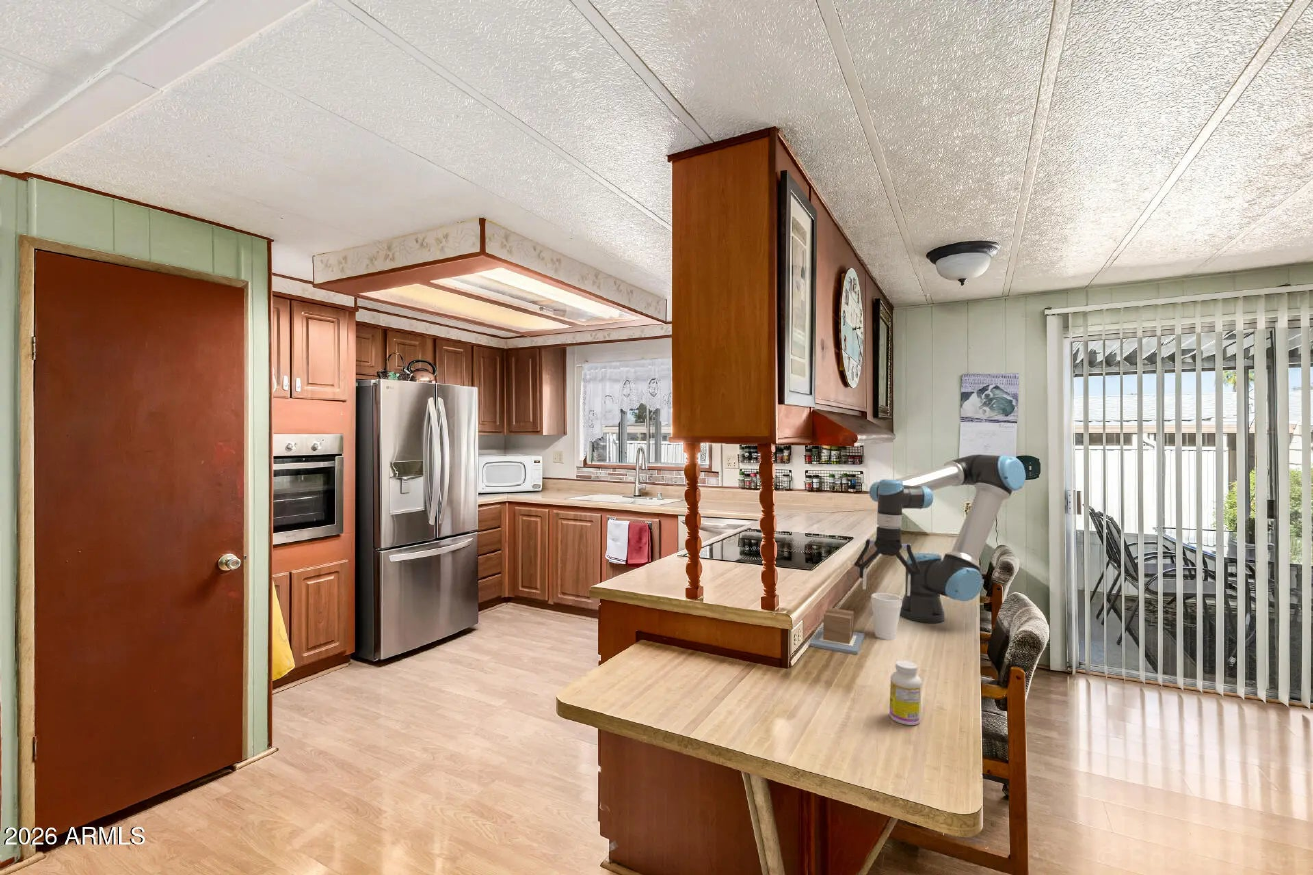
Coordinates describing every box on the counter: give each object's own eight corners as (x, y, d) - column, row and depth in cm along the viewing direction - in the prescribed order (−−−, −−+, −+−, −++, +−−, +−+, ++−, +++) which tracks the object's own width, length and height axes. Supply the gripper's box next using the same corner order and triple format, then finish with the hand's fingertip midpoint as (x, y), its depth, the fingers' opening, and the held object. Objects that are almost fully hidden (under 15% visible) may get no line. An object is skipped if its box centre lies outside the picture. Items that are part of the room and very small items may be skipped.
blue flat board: (820, 629, 200) (820, 625, 200) (864, 636, 194) (864, 633, 194) (810, 646, 184) (810, 642, 184) (857, 654, 178) (857, 650, 178)
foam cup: (863, 633, 197) (865, 594, 197) (884, 630, 201) (886, 591, 201) (885, 642, 189) (887, 602, 188) (907, 639, 193) (908, 599, 192)
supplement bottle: (894, 709, 143) (896, 656, 142) (923, 718, 138) (925, 663, 138) (885, 719, 137) (887, 664, 137) (915, 729, 133) (917, 672, 133)
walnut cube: (827, 631, 194) (828, 607, 194) (852, 636, 191) (853, 611, 191) (822, 639, 187) (823, 614, 187) (849, 644, 183) (850, 618, 183)
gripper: (847, 524, 197) (844, 588, 197) (930, 532, 186) (927, 600, 186) (850, 521, 203) (848, 583, 203) (931, 529, 192) (928, 594, 193)
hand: (886, 591), depth 195 cm, fingers open, 13 cm apart
